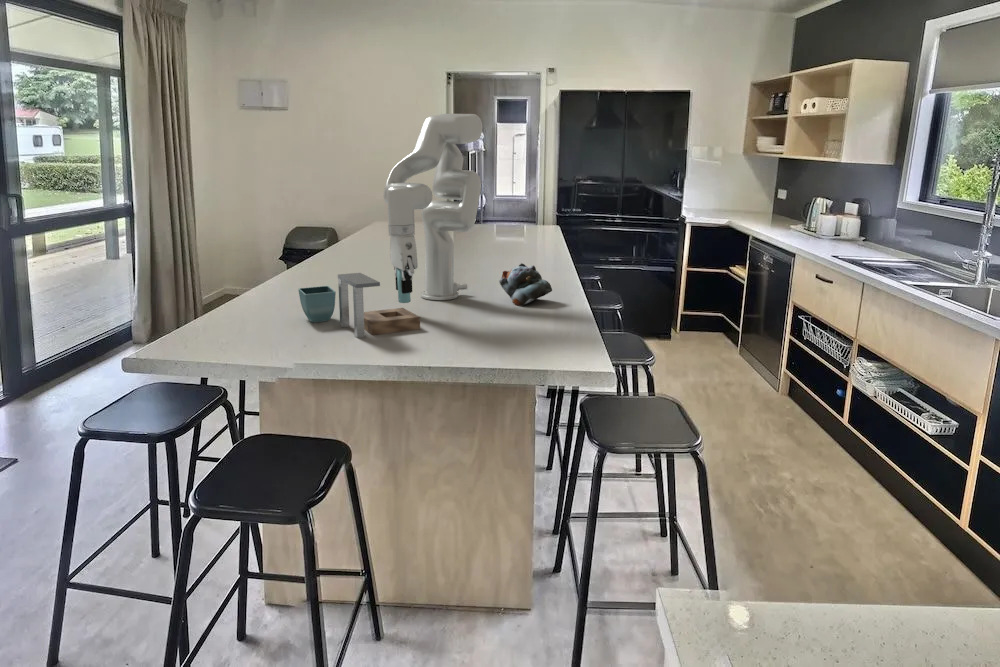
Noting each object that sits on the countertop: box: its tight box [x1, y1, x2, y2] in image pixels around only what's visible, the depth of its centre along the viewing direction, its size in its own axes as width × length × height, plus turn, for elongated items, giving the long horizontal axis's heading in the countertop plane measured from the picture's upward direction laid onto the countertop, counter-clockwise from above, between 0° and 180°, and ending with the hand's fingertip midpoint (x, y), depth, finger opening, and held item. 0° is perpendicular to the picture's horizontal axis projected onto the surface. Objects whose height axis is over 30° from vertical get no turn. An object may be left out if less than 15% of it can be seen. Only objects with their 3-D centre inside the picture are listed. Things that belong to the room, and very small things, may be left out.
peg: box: [397, 267, 412, 304], centre depth 212 cm, size 4×4×10 cm
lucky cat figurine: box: [498, 262, 553, 307], centre depth 232 cm, size 15×12×14 cm
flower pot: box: [297, 285, 336, 324], centre depth 204 cm, size 9×9×9 cm
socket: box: [364, 307, 421, 336], centre depth 199 cm, size 14×12×4 cm
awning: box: [337, 272, 381, 339], centre depth 193 cm, size 6×15×14 cm, turn 31°
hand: (404, 290), depth 212 cm, fingers closed on peg, 3 cm apart
